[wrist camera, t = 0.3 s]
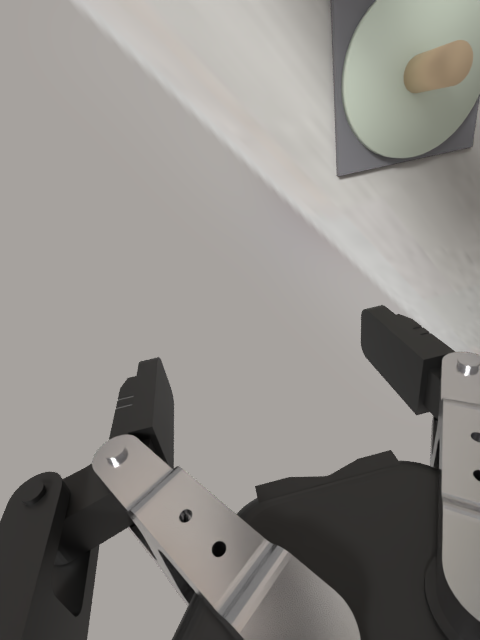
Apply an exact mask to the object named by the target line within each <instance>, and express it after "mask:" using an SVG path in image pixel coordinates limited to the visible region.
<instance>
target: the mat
mask: <svg viewBox="0 0 480 640" xmlns="http://www.w3.org/2000/svg"><path fill="white" fill-rule="evenodd" d="M375 1H376V0H331V19H332V48H333V77H334V106H335V135H336V163H337V176H342V175H346V174H351V173H356V172H360V171H365V170H369V169H374V168H378V167H383V166H387V165H392V164H397V163H401V162H406V161H410V160H415V159H419V158H424V157H429V156H433V155H438V154H442V153H447V152H451V151H456V150H461V149H465V148H470V147H472V145H473V138H474V131H475V124H476V117H477V110H478V103H479V96H480V94H479V96H478V98H477V100H476V102H475V104H474V106H473V108H472V109H471V111H470V113H469V114H468V116H467V117H466V119H465V120H464V121H463V123H462V124H461V125H460V126H459V128H458V129H457V130H456V131H455V132H454V133H453V134H452V135H451V136H450V137H449V138H448V139H447V140H445V141H444V142H443V143H441V144H440V145H439V146H437V147H436V148H434V149H432V150H430V151H428V152H426V153H424V154H421V155H418V156H415V157H409V158H390V157H385V156H381V155H378V154H375V153H374V152H372V151H370V150H368V149H367V148H366V147H365V146H363V145H362V144H361V143H360V142H359V140H358V139H357V138H356V137H355V135H354V134H353V132H352V131H351V129H350V126H349V124H348V122H347V119H346V116H345V113H344V109H343V103H342V94H341V80H342V71H343V64H344V60H345V56H346V52H347V49H348V46H349V43H350V40H351V38H352V36H353V34H354V31H355V29H356V27H357V26H358V24H359V22H360V20H361V19H362V17H363V16H364V14H365V13H366V12H367V10H368V9H369V7H370V6H371V5H372V4H373V3H374V2H375Z"/></svg>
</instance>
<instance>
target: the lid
mask: <svg viewBox="0 0 480 640" xmlns="http://www.w3.org/2000/svg"><path fill="white" fill-rule="evenodd" d="M341 94H342V103H343V109H344V113H345V116H346V119H347V122H348V124H349V126H350V129H351V131H352V132H353V134H354V135H355V137H356V138H357V139H358V140H359V142H360V143H361V144H362V145H363V146H365V147H366V148H367V149H368V150H370V151H372V152H374V153H375V154H378V155H381V156H385V157H390V158H409V157H415V156H418V155H421V154H424V153H426V152H428V151H430V150H432V149H434V148H436V147H437V146H439V145H440V144H441V143H443V142H444V141H445V140H447V139H448V138H449V137H450V136H451V135H452V134H453V133H454V132H455V131H456V130H457V129H458V128H459V126H460V125H461V124H462V123H463V121H464V120H465V119H466V117H467V116H468V114H469V113H470V111H471V109H472V108H473V106H474V104H475V102H476V100H477V98H478V96H479V94H480V0H376V1H375V2H374V3H373V4H372V5H371V6H370V7H369V9H368V10H367V12H366V13H365V14H364V16H363V17H362V19H361V20H360V22H359V24H358V26H357V27H356V29H355V31H354V34H353V36H352V38H351V40H350V43H349V46H348V49H347V52H346V56H345V60H344V64H343V71H342V80H341Z"/></svg>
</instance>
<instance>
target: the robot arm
mask: <svg viewBox="0 0 480 640" xmlns="http://www.w3.org/2000/svg"><path fill="white" fill-rule="evenodd" d="M361 346H362V350H363V353H364V355H365V357H366V358H367V359H368V360H369V362H371V364H372V365H373V366H374V367H375V368H376V369H377V371H379V373H380V374H381V375H382V376H383V377H384V378H385V380H386V381H387V382H388V383H389V384H390V385H391V387H392V388H393V389H394V390H395V391H396V392H397V393H398V394H399V395H400V397H401V398H402V399H403V400H404V401H405V402H406V404H407V405H408V406H409V407H410V408H411V409H412V410H413V412H415V414H416V415H419V414H423V413H426V412H431V413H432V415H433V420H432V435H431V454H430V466H428V465H424V464H421V463H416V462H410V461H398V460H397V458H396V457H395V455H394V454H393V452H392V451H391V450H390V451H386V452H382V453H379V454H375V455H371V456H367V457H364V458H360V459H357V460H356V461H354V462H352V463H350V464H348V465H347V466H345V467H343V468H341V469H340V470H338V471H336V472H335V473H333V474H331V475H329V476H324V477H289V478H285V479H281V480H277V481H274V482H269V483H266V484H262V485H258V486H255V488H256V492H257V497H258V498H256V499H254V500H253V501H251V502H250V503H248V504H247V505H246V506H244V507H243V508H242V509H241V510H240V511H239V512H238V513H237V514H235V513H234V512H233V511H232V510H231V509H229V508H228V507H227V506H226V505H225V504H224V503H223V502H221V501H220V500H219V499H218V498H217V497H215V496H214V495H213V494H212V493H211V492H210V491H208V490H207V489H206V488H205V487H204V486H203V485H201V484H200V483H199V482H198V481H197V480H195V479H194V478H193V477H192V476H191V475H190V474H189V473H187V472H186V471H185V470H184V469H182V468H181V467H176V468H174V466H173V465H174V400H173V394H172V390H171V387H170V384H169V381H168V378H167V376H166V373H165V370H164V367H163V364H162V361H161V359H160V358H159V357H158V358H154V359H150V360H145V361H141V362H139V365H138V372H137V376H135V377H130V378H128V379H127V380H126V381H125V383H124V384H123V385H122V387H121V388H120V392H119V397H118V401H117V406H116V410H115V415H114V420H113V424H112V428H111V433H110V437H109V440H108V441H107V442H105V443H104V444H103V445H102V446H101V447H100V448H99V449H98V450H97V452H96V453H95V455H94V457H93V460H92V464H90V465H89V466H87V467H86V468H84V469H82V470H80V471H78V472H76V473H74V474H72V475H70V476H68V477H66V478H64V479H62V478H61V476H60V475H59V474H58V473H55V472H45V473H41V474H38V475H36V476H34V477H32V478H31V479H29V480H28V481H26V482H25V483H23V484H22V485H21V486H20V487H19V488H18V489H17V490H16V491H15V492H14V494H13V495H12V497H11V498H10V500H9V502H8V504H7V506H6V509H5V511H4V514H3V516H2V519H1V521H0V640H87V634H88V627H89V619H90V612H91V604H92V596H93V589H94V582H95V574H96V566H97V559H98V551H99V544H101V543H103V542H104V541H106V540H108V539H109V538H111V537H113V536H114V535H116V534H117V533H119V532H121V531H122V530H124V529H126V528H129V530H130V531H131V532H132V533H133V534H134V536H135V537H136V538H137V540H138V541H139V542H140V543H141V545H142V546H143V547H144V548H145V550H146V551H147V552H148V553H149V555H150V556H151V557H152V558H153V560H154V561H155V562H156V564H157V565H158V566H159V567H160V569H161V570H162V571H163V573H164V574H165V576H166V577H167V579H168V580H169V582H170V583H171V585H172V586H173V587H174V589H175V590H176V592H177V593H178V594H179V595H180V597H181V598H182V599H183V601H184V602H185V603H186V604H187V606H188V608H187V610H186V612H185V614H184V616H183V618H182V620H181V622H180V624H179V626H178V628H177V630H176V633H175V635H174V637H173V639H172V640H480V355H478V354H474V353H470V352H455V351H454V350H452V349H451V348H450V347H448V346H447V345H446V344H444V343H443V342H442V341H440V340H439V339H438V338H436V337H435V336H434V335H433V334H430V333H429V331H427V330H426V329H425V328H422V327H421V325H419V324H418V323H417V322H415V321H414V320H413V319H411V318H408V317H405V316H403V315H400V314H397V315H395V314H394V313H393V312H391V311H390V310H389V309H388V308H387V307H385V306H383V305H381V306H377V307H372V308H368V309H364V310H363V311H362V314H361Z"/></svg>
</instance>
